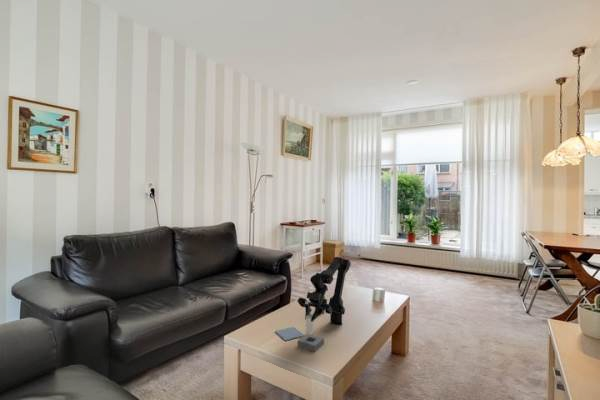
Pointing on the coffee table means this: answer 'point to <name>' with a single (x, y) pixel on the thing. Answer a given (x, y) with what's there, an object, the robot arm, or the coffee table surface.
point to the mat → (289, 333)
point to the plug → (309, 324)
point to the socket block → (311, 342)
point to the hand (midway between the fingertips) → (308, 320)
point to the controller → (324, 301)
